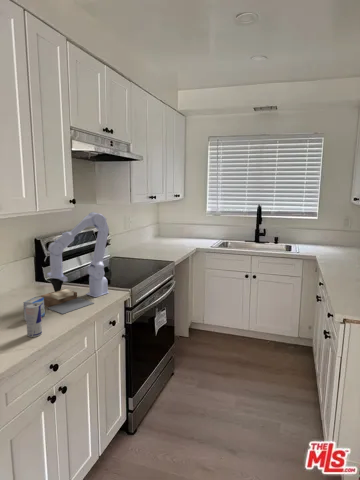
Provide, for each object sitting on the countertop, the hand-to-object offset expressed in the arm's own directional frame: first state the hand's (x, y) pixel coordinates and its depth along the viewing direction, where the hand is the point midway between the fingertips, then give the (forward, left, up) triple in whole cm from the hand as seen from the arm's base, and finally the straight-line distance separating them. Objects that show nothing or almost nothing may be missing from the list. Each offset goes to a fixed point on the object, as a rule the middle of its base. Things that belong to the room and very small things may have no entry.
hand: (57, 292), depth 167 cm
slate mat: (0, +11, -4) cm, 12 cm away
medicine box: (+19, +11, -5) cm, 22 cm away
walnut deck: (0, 0, -4) cm, 4 cm away
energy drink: (+28, +26, -5) cm, 38 cm away
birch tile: (0, +4, -1) cm, 4 cm away
